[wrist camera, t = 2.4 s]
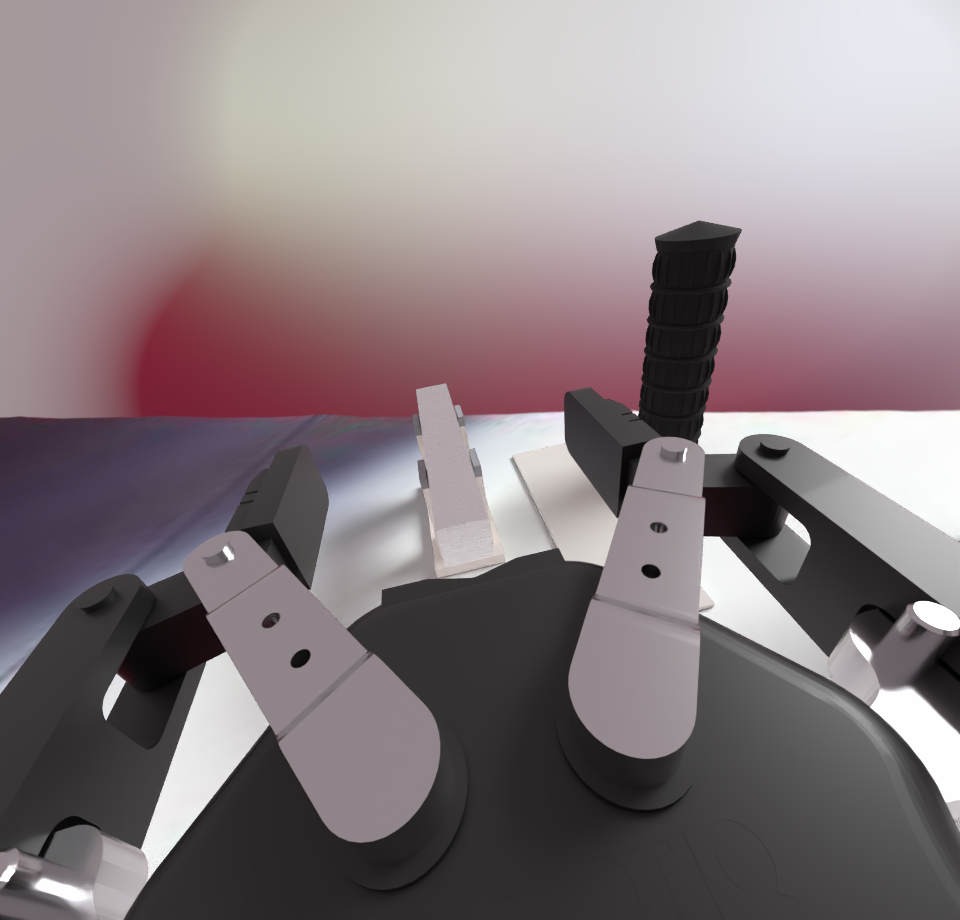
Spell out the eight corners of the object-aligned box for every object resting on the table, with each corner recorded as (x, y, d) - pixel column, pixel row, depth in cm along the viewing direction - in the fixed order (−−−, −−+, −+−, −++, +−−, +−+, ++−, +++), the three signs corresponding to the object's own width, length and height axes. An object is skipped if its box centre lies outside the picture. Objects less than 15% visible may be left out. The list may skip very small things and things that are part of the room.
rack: (477, 473, 53) (463, 398, 47) (505, 561, 40) (492, 472, 34) (425, 485, 53) (405, 410, 47) (437, 578, 40) (411, 491, 33)
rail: (422, 416, 47) (416, 389, 46) (451, 410, 48) (445, 383, 46) (445, 566, 28) (435, 530, 26) (494, 555, 28) (488, 518, 26)
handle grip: (687, 502, 44) (721, 459, 49) (743, 226, 29) (783, 207, 34) (605, 471, 50) (643, 436, 55) (616, 233, 35) (667, 216, 41)
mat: (580, 442, 56) (580, 439, 56) (713, 606, 33) (714, 603, 33) (512, 457, 56) (512, 455, 55) (600, 636, 32) (600, 633, 32)
